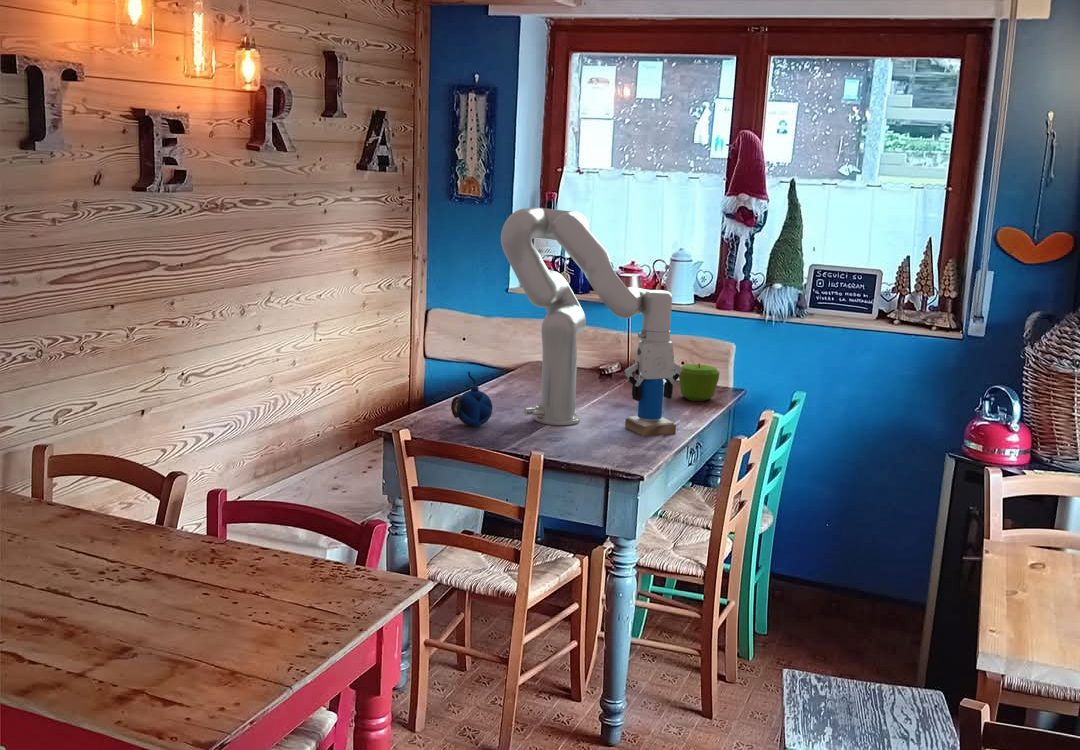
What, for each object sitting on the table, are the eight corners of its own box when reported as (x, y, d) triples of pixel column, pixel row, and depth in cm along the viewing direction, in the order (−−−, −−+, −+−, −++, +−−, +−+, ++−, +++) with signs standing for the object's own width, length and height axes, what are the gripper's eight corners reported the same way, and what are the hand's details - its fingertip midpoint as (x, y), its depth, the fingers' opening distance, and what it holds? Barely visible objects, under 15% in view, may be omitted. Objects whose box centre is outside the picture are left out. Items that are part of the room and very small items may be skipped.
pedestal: (643, 436, 291) (643, 425, 290) (625, 427, 300) (625, 416, 299) (675, 433, 295) (676, 422, 294) (656, 424, 304) (657, 414, 303)
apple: (724, 402, 334) (727, 366, 332) (689, 404, 330) (692, 367, 328) (704, 393, 346) (706, 358, 344) (670, 395, 341) (672, 359, 339)
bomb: (447, 422, 297) (448, 368, 294) (485, 420, 301) (486, 367, 298) (457, 431, 288) (458, 376, 285) (496, 429, 292) (498, 374, 289)
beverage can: (661, 417, 299) (663, 374, 297) (661, 423, 293) (664, 379, 291) (637, 416, 300) (640, 373, 298) (637, 421, 294) (639, 378, 291)
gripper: (634, 340, 285) (630, 403, 289) (690, 337, 292) (686, 400, 296) (620, 335, 292) (617, 397, 295) (676, 333, 299) (672, 394, 302)
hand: (651, 398), depth 295 cm, fingers open, 9 cm apart
